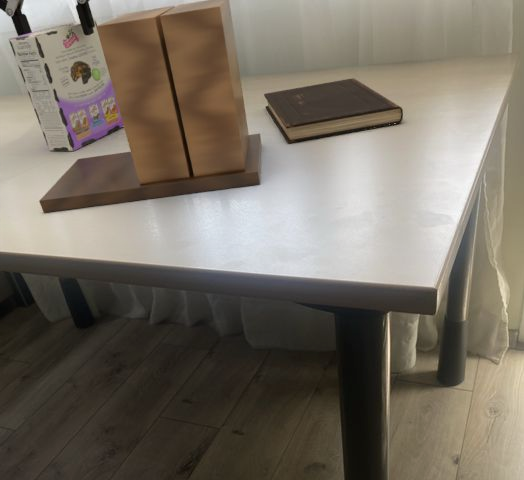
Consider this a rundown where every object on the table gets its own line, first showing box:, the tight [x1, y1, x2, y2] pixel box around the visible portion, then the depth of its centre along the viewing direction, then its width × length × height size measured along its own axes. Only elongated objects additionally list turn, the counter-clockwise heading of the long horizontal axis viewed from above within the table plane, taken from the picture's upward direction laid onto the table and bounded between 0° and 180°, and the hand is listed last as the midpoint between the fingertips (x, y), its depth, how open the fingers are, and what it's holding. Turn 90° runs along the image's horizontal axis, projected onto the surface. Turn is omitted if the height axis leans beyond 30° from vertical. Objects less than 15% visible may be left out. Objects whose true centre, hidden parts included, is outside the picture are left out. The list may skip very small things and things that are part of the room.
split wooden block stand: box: [38, 0, 262, 213], centre depth 63 cm, size 26×16×18 cm, turn 89°
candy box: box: [8, 19, 124, 152], centre depth 86 cm, size 14×6×16 cm, turn 154°
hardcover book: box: [263, 77, 404, 144], centre depth 81 cm, size 16×23×2 cm
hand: (59, 39), depth 82 cm, fingers open, 9 cm apart
